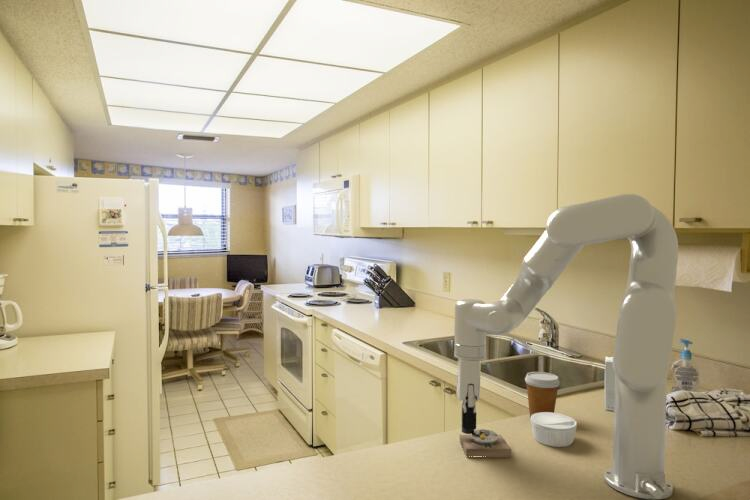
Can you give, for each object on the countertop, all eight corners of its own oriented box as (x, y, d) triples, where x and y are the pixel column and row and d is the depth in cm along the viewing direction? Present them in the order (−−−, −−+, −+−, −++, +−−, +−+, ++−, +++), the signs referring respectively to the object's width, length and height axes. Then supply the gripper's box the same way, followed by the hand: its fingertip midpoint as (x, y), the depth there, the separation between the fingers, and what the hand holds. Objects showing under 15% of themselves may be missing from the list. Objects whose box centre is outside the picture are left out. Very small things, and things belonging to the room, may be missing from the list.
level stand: (510, 457, 116) (510, 446, 116) (466, 457, 116) (466, 446, 116) (500, 442, 125) (501, 432, 125) (459, 442, 124) (459, 432, 124)
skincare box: (626, 413, 146) (627, 363, 146) (603, 410, 149) (604, 360, 148) (625, 404, 154) (626, 356, 153) (604, 401, 156) (605, 354, 156)
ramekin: (566, 453, 119) (566, 431, 119) (522, 440, 126) (522, 419, 126) (583, 439, 127) (583, 419, 127) (541, 428, 135) (541, 408, 134)
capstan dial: (495, 448, 115) (495, 414, 115) (458, 442, 118) (459, 409, 118) (498, 436, 122) (499, 404, 122) (463, 432, 125) (464, 400, 125)
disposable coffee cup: (548, 426, 135) (549, 382, 135) (517, 416, 143) (518, 375, 142) (565, 418, 142) (566, 376, 141) (535, 409, 149) (536, 369, 148)
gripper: (452, 342, 130) (451, 413, 130) (455, 358, 113) (454, 438, 114) (482, 344, 129) (481, 414, 129) (489, 359, 112) (488, 440, 113)
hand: (468, 424), depth 121 cm, fingers open, 3 cm apart
